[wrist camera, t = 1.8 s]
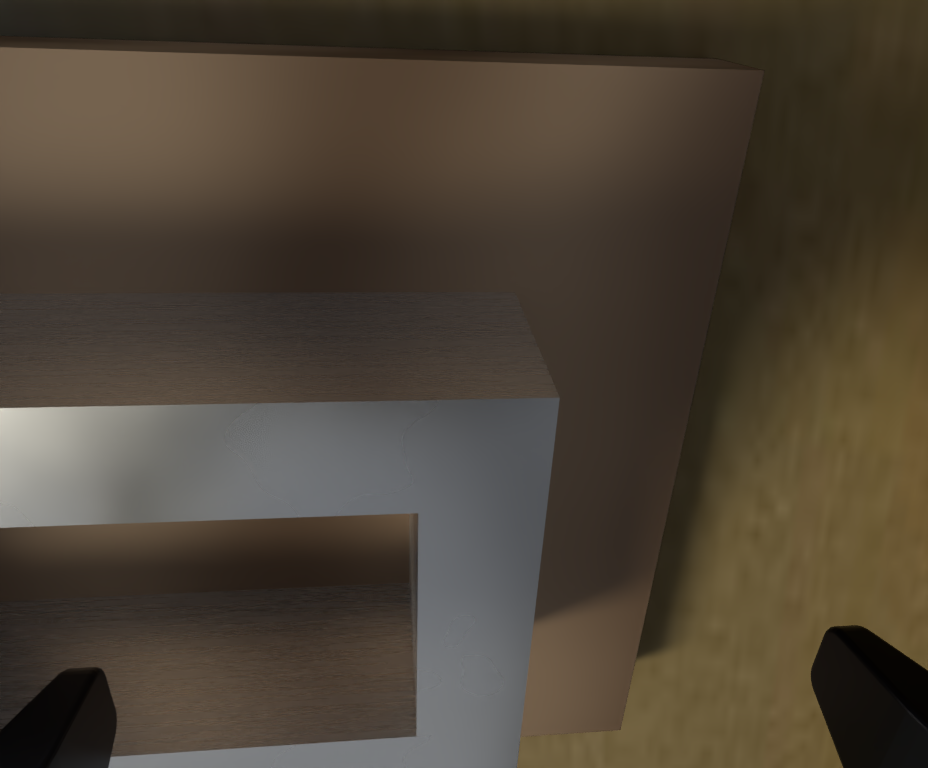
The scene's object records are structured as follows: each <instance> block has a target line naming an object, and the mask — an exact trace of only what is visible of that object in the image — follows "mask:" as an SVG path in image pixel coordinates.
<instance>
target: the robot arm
mask: <svg viewBox="0 0 928 768" xmlns="http://www.w3.org/2000/svg"><path fill="white" fill-rule="evenodd" d="M811 682H812V686H813V690H814V692H815V695H816V698H817V700H818V703H819V705H820V708H821V711H822V713H823V716H824V719H825V721H826V724H827V726H828V729H829V732H830V734H831V737H832V739H833V742H834V745H835V747H836V750H837V752H838V755H839V758H840V760H841V763H842V765H843V768H928V670H926V669H925V668H923V667H922V666H920V665H919V664H918V663H916V662H915V661H913V660H912V659H910V658H909V657H907V656H906V655H904V654H903V653H902V652H900V651H899V650H897V649H896V648H894V647H893V646H891V645H890V644H888V643H887V642H886V641H884V640H883V639H881V638H880V637H878V636H877V635H875V634H874V633H872V632H871V631H870V630H868V629H866V628H864V627H862V626H857V625H851V626H834V627H831V628H829V629H828V630H827V631H826V633H825V634H824V637H823V640H822V642H821V645H820V647H819V650H818V653H817V655H816V658H815V660H814V663H813V666H812V669H811ZM116 729H117V713H116V708H115V705H114V702H113V698H112V695H111V692H110V688H109V685H108V681H107V678H106V675H105V673H104V671H103V670H102V669H101V668H99V667H86V668H70V669H66V670H64V671H62V672H61V673H59V674H58V675H57V676H56V677H55V678H54V679H53V680H52V681H51V682H50V683H49V684H48V685H47V686H45V687H44V688H43V689H42V690H41V691H40V692H39V693H38V694H37V695H36V696H35V697H34V698H33V699H32V700H31V701H30V702H29V703H28V704H27V705H26V706H25V707H24V708H23V709H22V710H21V711H20V712H19V713H18V714H17V715H16V716H15V717H14V718H13V719H12V720H11V721H10V722H9V723H8V724H7V725H5V726H4V727H3V728H2V729H1V730H0V768H108V767H109V763H110V758H111V753H112V749H113V744H114V740H115V735H116Z"/></svg>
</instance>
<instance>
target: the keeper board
mask: <svg viewBox="0 0 928 768" xmlns="http://www.w3.org/2000/svg"><path fill="white" fill-rule="evenodd" d="M763 76H764V70H760V69H756V68H752V67H748V66H744V65H740V64H736V63H732V62H728V61H724V60H720V59H707V58H675V57H644V56H613V55H581V54H550V53H519V52H488V51H456V50H425V49H394V48H362V47H331V46H300V45H269V44H237V43H206V42H175V41H143V40H112V39H81V38H50V37H18V36H0V294H62V293H385V292H515V294H516V296H517V299H518V301H519V303H520V306H521V308H522V310H523V313H524V315H525V317H526V320H527V322H528V324H529V327H530V329H531V331H532V334H533V336H534V338H535V341H536V343H537V345H538V348H539V350H540V353H541V355H542V357H543V360H544V362H545V364H546V367H547V369H548V371H549V374H550V376H551V378H552V381H553V383H554V385H555V388H556V390H557V392H558V395H559V397H560V400H559V409H558V417H557V426H556V434H555V443H554V452H553V460H552V469H551V477H550V486H549V495H548V503H547V512H546V520H545V529H544V538H543V546H542V555H541V563H540V572H539V581H538V589H537V598H536V606H535V615H534V624H533V632H532V641H531V649H530V658H529V667H528V675H527V684H526V692H525V701H524V710H523V718H522V727H521V735H520V737H525V736H540V735H555V734H569V733H584V732H599V731H613V730H621V725H622V721H623V716H624V711H625V707H626V702H627V698H628V693H629V689H630V684H631V679H632V675H633V670H634V666H635V661H636V656H637V652H638V647H639V643H640V638H641V634H642V629H643V624H644V620H645V615H646V611H647V606H648V602H649V597H650V592H651V588H652V583H653V579H654V574H655V570H656V565H657V560H658V556H659V551H660V547H661V542H662V538H663V533H664V528H665V524H666V519H667V515H668V510H669V506H670V501H671V496H672V492H673V487H674V483H675V478H676V474H677V469H678V464H679V460H680V455H681V451H682V446H683V441H684V437H685V432H686V428H687V423H688V419H689V414H690V409H691V405H692V400H693V396H694V391H695V387H696V382H697V377H698V373H699V368H700V364H701V359H702V355H703V350H704V345H705V341H706V336H707V332H708V327H709V323H710V318H711V313H712V309H713V304H714V300H715V295H716V291H717V286H718V281H719V277H720V272H721V268H722V263H723V259H724V254H725V249H726V245H727V240H728V236H729V231H730V226H731V222H732V217H733V213H734V208H735V204H736V199H737V194H738V190H739V185H740V181H741V176H742V172H743V167H744V162H745V158H746V153H747V149H748V144H749V140H750V135H751V130H752V126H753V121H754V117H755V112H756V108H757V103H758V98H759V94H760V89H761V85H762V80H763ZM398 583H409V514H382V515H353V516H325V517H296V518H267V519H239V520H210V521H181V522H153V523H124V524H96V525H67V526H38V527H10V528H0V601H20V600H42V599H64V598H86V597H109V596H131V595H153V594H175V593H198V592H220V591H242V590H264V589H287V588H309V587H331V586H353V585H376V584H398Z"/></svg>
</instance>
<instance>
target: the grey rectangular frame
mask: <svg viewBox="0 0 928 768" xmlns="http://www.w3.org/2000/svg"><path fill="white" fill-rule="evenodd" d="M559 400H560V397H559V395H558V392H557V390H556V388H555V385H554V383H553V381H552V378H551V376H550V374H549V371H548V369H547V367H546V364H545V362H544V360H543V357H542V355H541V353H540V350H539V348H538V345H537V343H536V341H535V338H534V336H533V334H532V331H531V329H530V327H529V324H528V322H527V320H526V317H525V315H524V313H523V310H522V308H521V306H520V303H519V301H518V299H517V296H516V294H515V292H385V293H62V294H0V528H10V527H38V526H67V525H96V524H124V523H153V522H181V521H210V520H239V519H267V518H296V517H325V516H353V515H382V514H409V583H398V584H376V585H353V586H331V587H309V588H287V589H264V590H242V591H220V592H198V593H175V594H153V595H131V596H109V597H86V598H64V599H42V600H20V601H0V730H1V729H2V728H3V727H4V726H5V725H7V724H8V723H9V722H10V721H11V720H12V719H13V718H14V717H15V716H16V715H17V714H18V713H19V712H20V711H21V710H22V709H23V708H24V707H25V706H26V705H27V704H28V703H29V702H30V701H31V700H32V699H33V698H34V697H35V696H36V695H37V694H38V693H39V692H40V691H41V690H42V689H43V688H44V687H45V686H47V685H48V684H49V683H50V682H51V681H52V680H53V679H54V678H55V677H56V676H57V675H58V674H59V673H61V672H62V671H64V670H66V669H70V668H86V667H99V668H101V669H102V670H103V671H104V673H105V675H106V678H107V681H108V685H109V688H110V692H111V695H112V698H113V702H114V705H115V708H116V713H117V729H116V735H115V740H114V744H113V749H112V753H111V758H110V763H109V767H108V768H517V761H518V753H519V744H520V735H521V727H522V718H523V710H524V701H525V692H526V684H527V675H528V667H529V658H530V649H531V641H532V632H533V624H534V615H535V606H536V598H537V589H538V581H539V572H540V563H541V555H542V546H543V538H544V529H545V520H546V512H547V503H548V495H549V486H550V477H551V469H552V460H553V452H554V443H555V434H556V426H557V417H558V409H559Z"/></svg>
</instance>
